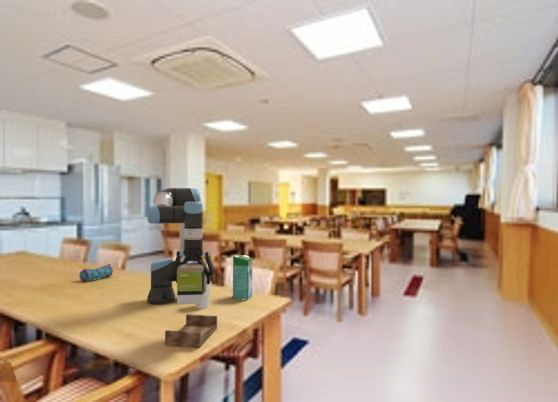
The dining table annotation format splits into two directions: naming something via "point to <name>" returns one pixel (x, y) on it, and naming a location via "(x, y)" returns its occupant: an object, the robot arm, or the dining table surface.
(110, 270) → the pencil case
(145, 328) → the dining table surface
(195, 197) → the robot arm
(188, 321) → the wooden tray
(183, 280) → the tea box
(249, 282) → the milk carton
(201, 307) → the foam cup
